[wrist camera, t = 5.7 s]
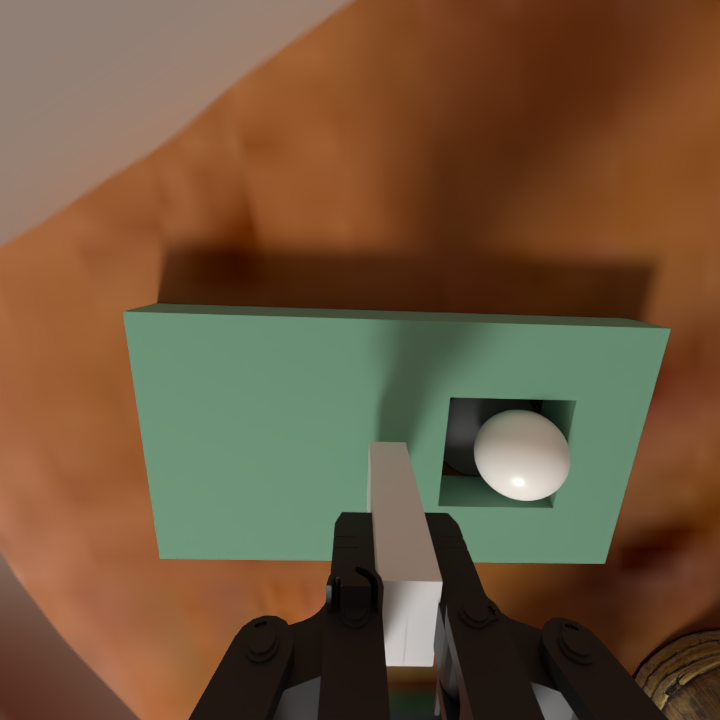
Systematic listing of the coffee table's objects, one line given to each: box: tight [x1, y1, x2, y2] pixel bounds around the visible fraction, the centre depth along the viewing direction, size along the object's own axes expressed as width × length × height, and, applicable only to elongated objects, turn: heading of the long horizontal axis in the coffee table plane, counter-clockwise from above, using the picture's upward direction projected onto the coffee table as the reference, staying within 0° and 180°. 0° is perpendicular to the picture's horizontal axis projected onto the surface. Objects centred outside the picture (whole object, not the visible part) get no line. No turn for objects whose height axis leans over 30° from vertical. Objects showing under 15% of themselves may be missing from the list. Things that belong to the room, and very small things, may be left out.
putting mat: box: [123, 303, 671, 564], centre depth 17 cm, size 22×12×2 cm, turn 88°
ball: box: [474, 410, 571, 501], centre depth 16 cm, size 4×4×4 cm
